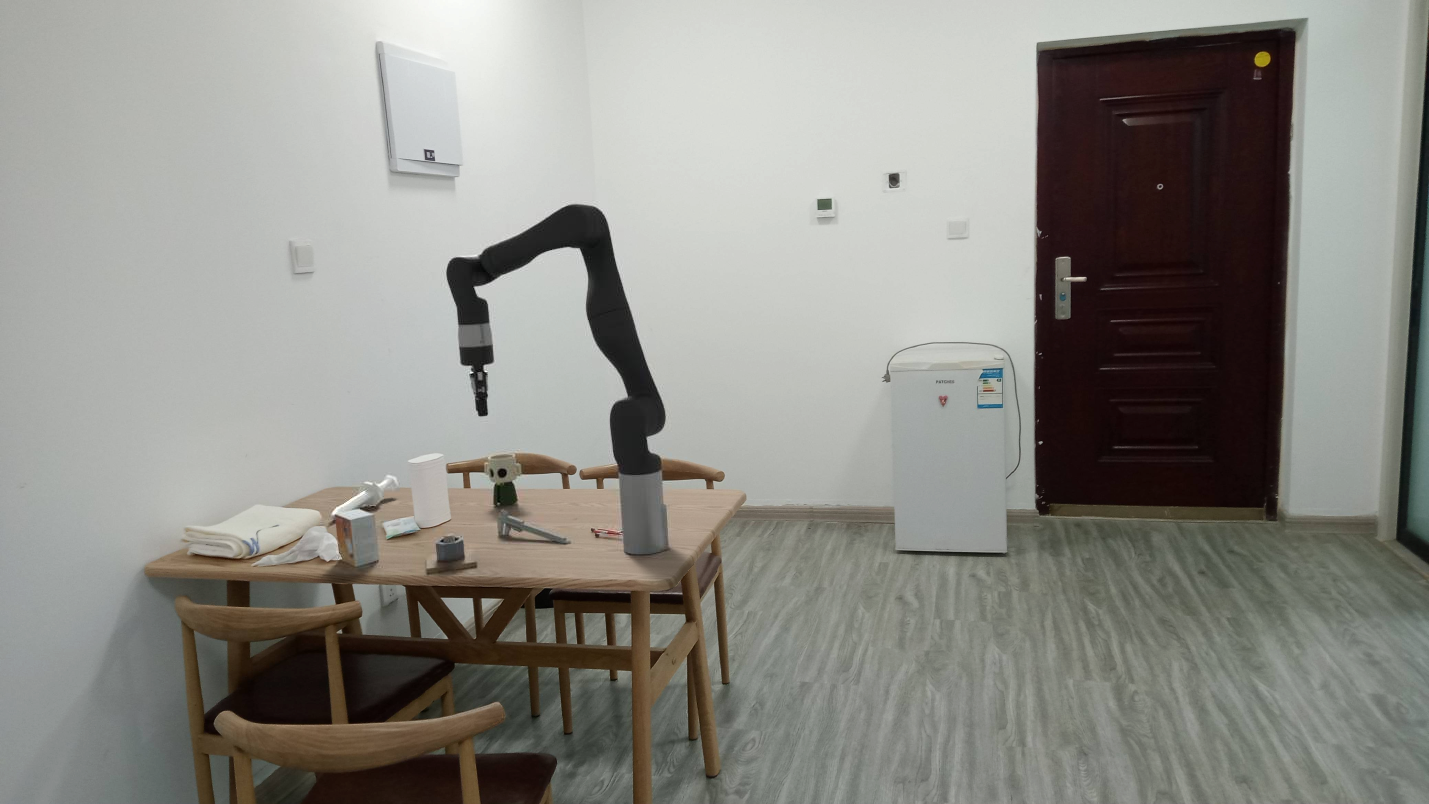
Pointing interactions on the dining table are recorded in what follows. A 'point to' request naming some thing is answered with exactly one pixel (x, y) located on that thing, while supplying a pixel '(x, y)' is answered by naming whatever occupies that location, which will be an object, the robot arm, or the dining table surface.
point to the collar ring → (450, 550)
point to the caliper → (525, 528)
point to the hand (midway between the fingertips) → (482, 413)
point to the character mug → (503, 477)
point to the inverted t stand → (440, 566)
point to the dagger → (368, 495)
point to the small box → (357, 537)
